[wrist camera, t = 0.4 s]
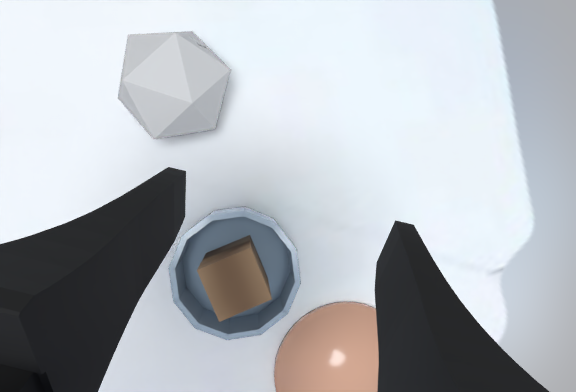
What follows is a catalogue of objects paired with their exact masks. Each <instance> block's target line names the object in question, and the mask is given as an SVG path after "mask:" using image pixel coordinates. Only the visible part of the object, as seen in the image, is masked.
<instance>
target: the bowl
mask: <svg viewBox="0 0 576 392" xmlns="http://www.w3.org/2000/svg"><path fill="white" fill-rule="evenodd" d="M248 235H250V236H251V239H252V241H253V243H254V246H255V248H256V250H257V253H258V255H259V258H260V260H261V262H262V265H263V267H264V270H265V272H266V274H267V277H268V281H269V286H270V292H271V297H272V300H269V301H267V302H265V303H262V304H260V305H258V306H255V307H253V308H251V309H248V310H246V311H244V312H241V313H239V314H237V315H234V316H232V317H230V318H228V319H225V320H223V321H221V322H219V320H218V318H217V316H216V313H215V311H214V309H213V307H212V304H211V302H210V300H209V297H208V295H207V293H206V290H205V288H204V286H203V284H202V281H201V279H200V277H199V274H198V272H197V269H198V267H199V265H200V263H201V261H202V260H203V258H204V256H205V254H206V253H207V252H210V251H212V250H215V249H217V248H219V247H222V246H224V245H227V244H229V243H231V242H234V241H236V240H239V239H241V238H243V237H246V236H248ZM169 274H170V281H171V288H172V295H173V301H174V303H175V304H176V306H177V307H178V308H179V309H180V310H181V312H182V313H183V314H184V315H185V317H186V318H187V319H188V320H189V321H190V323H191V324H192V325H193V326H194V328H196V329H198V330H201V331H204V332H206V333H209V334H212V335H215V336H217V337H220V338H223V339H225V340H231V339H238V338H244V337H250V336H256V335H261V334H263V333H264V332H265V331H266V330H268V329H269V328H270V327H272V326H273V325H274V324H275V323H277V322H278V321H279V320H280V319H282V318H283V317H284V316H286V315H287V313H288V312H289V310H290V307H291V305H292V303H293V300H294V298H295V295H296V293H297V291H298V288H299V286H300V284H301V281H300V273H299V265H298V257H297V250H296V248H295V247H294V245H293V243H292V242H291V241H290V239H289V238H288V237H287V235H286V234H285V233H284V231H283V230H282V229H281V228H280V226H279V225H278V224H277V222H276V221H275V220H274V219H273V218H271V217H269V216H267V215H264V214H262V213H260V212H257V211H254V210H252V209H249V208H247V207H238V208H229V209H223V210H216V211H213V212H212V213H210V214H209V215H208V216H206V217H205V218H204V219H202V220H201V221H200V222H198V223H197V224H196V225H194V226H193V227H192V228H191V229H189V230H188V231H187V232H186V233H185V234H184V235H183V236H182V237H181V240H180V242H179V245H178V247H177V249H176V252H175V254H174V257H173V259H172V261H171V264H170V266H169Z"/></svg>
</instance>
